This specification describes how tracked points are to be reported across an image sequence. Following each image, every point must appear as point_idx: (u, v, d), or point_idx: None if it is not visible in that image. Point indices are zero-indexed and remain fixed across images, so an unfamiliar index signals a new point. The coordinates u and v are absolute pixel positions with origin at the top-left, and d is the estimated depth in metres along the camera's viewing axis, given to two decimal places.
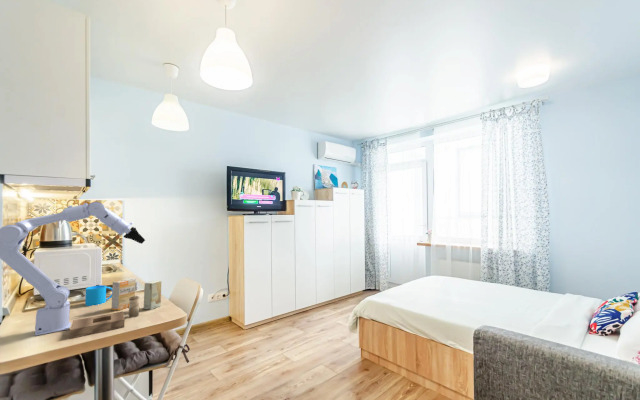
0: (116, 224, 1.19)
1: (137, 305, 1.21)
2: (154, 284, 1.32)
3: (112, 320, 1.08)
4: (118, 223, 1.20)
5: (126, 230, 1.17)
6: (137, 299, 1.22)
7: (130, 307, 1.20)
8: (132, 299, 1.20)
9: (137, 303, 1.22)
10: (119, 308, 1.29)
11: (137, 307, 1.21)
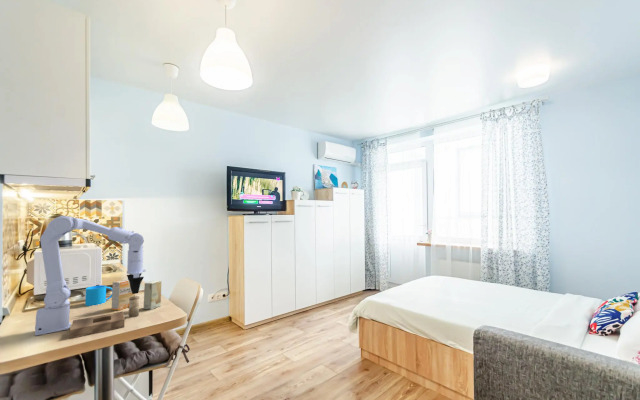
0: (134, 263, 1.21)
1: (137, 305, 1.21)
2: (154, 284, 1.32)
3: (112, 320, 1.08)
4: (137, 263, 1.21)
5: (136, 274, 1.17)
6: (137, 299, 1.22)
7: (130, 307, 1.20)
8: (132, 299, 1.20)
9: (137, 303, 1.22)
10: (119, 308, 1.29)
11: (137, 307, 1.21)
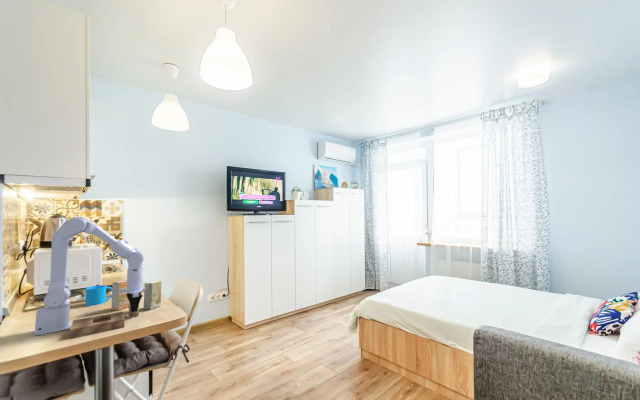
0: (134, 281, 1.20)
1: None
2: (154, 284, 1.32)
3: (112, 320, 1.08)
4: (136, 282, 1.21)
5: (135, 293, 1.16)
6: None
7: (130, 307, 1.20)
8: None
9: None
10: (119, 308, 1.29)
11: None
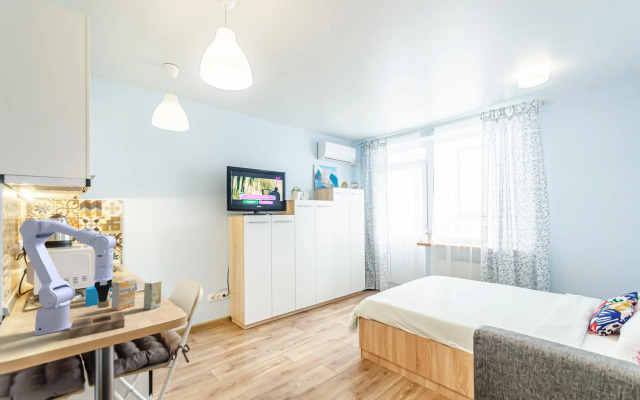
0: (102, 268, 1.08)
1: None
2: (154, 284, 1.32)
3: (112, 320, 1.08)
4: (105, 269, 1.09)
5: (103, 281, 1.05)
6: None
7: None
8: None
9: None
10: (119, 308, 1.29)
11: (107, 297, 1.10)
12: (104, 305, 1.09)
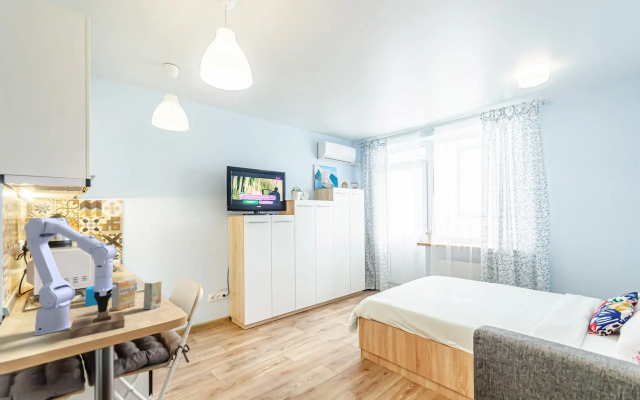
0: (102, 279, 1.08)
1: (107, 305, 1.10)
2: (154, 284, 1.32)
3: (112, 320, 1.08)
4: (105, 279, 1.09)
5: (102, 292, 1.04)
6: None
7: None
8: None
9: None
10: (119, 308, 1.29)
11: (107, 307, 1.10)
12: (104, 315, 1.09)
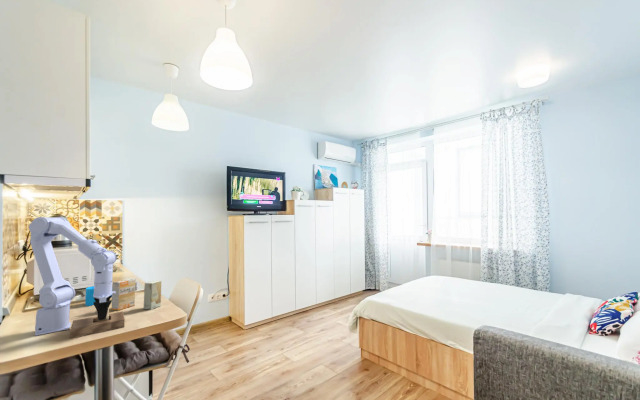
0: (102, 285, 1.08)
1: (107, 313, 1.10)
2: (154, 284, 1.32)
3: (112, 320, 1.08)
4: (105, 285, 1.09)
5: (102, 299, 1.04)
6: None
7: None
8: None
9: None
10: (119, 308, 1.29)
11: (107, 315, 1.10)
12: None
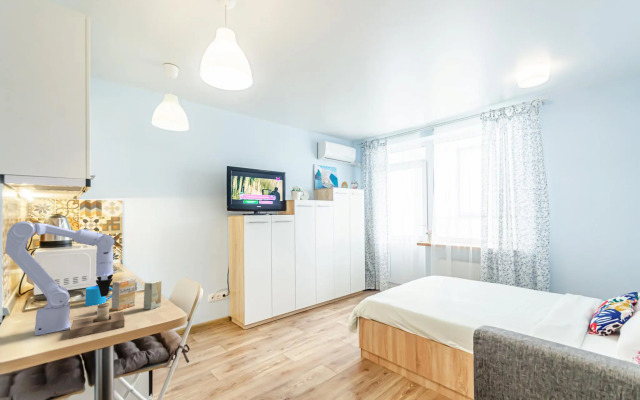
0: (103, 265, 1.17)
1: (107, 313, 1.10)
2: (154, 284, 1.32)
3: (112, 320, 1.08)
4: (106, 265, 1.18)
5: (103, 276, 1.14)
6: (107, 306, 1.10)
7: (98, 316, 1.08)
8: (101, 307, 1.08)
9: (107, 311, 1.10)
10: (119, 308, 1.29)
11: (107, 315, 1.10)
12: None
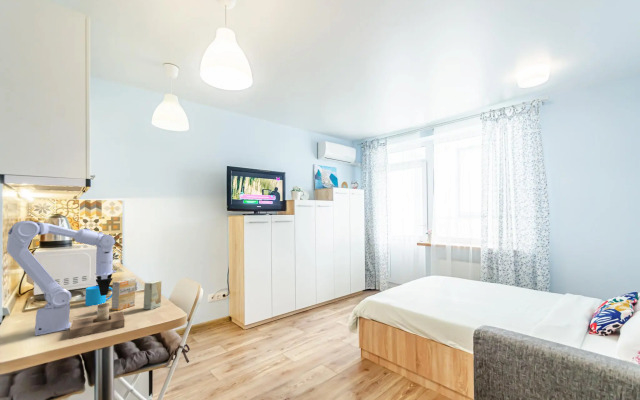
0: (103, 264, 1.19)
1: (107, 313, 1.10)
2: (154, 284, 1.32)
3: (112, 320, 1.08)
4: (106, 264, 1.19)
5: (103, 276, 1.15)
6: (107, 306, 1.10)
7: (98, 316, 1.08)
8: (101, 307, 1.08)
9: (107, 311, 1.10)
10: (119, 308, 1.29)
11: (107, 315, 1.10)
12: None
